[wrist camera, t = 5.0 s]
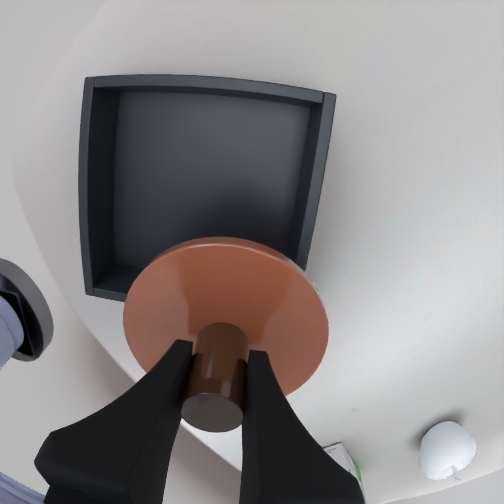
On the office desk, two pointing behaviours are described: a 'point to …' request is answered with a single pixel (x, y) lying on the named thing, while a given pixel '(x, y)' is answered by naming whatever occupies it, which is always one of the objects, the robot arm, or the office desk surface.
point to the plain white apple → (446, 450)
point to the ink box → (345, 462)
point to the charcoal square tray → (195, 168)
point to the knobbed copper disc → (226, 322)
